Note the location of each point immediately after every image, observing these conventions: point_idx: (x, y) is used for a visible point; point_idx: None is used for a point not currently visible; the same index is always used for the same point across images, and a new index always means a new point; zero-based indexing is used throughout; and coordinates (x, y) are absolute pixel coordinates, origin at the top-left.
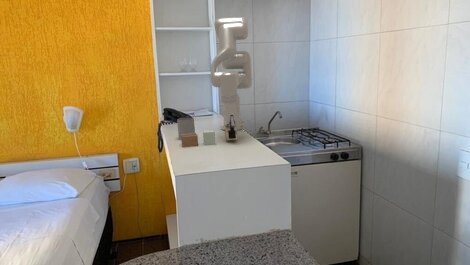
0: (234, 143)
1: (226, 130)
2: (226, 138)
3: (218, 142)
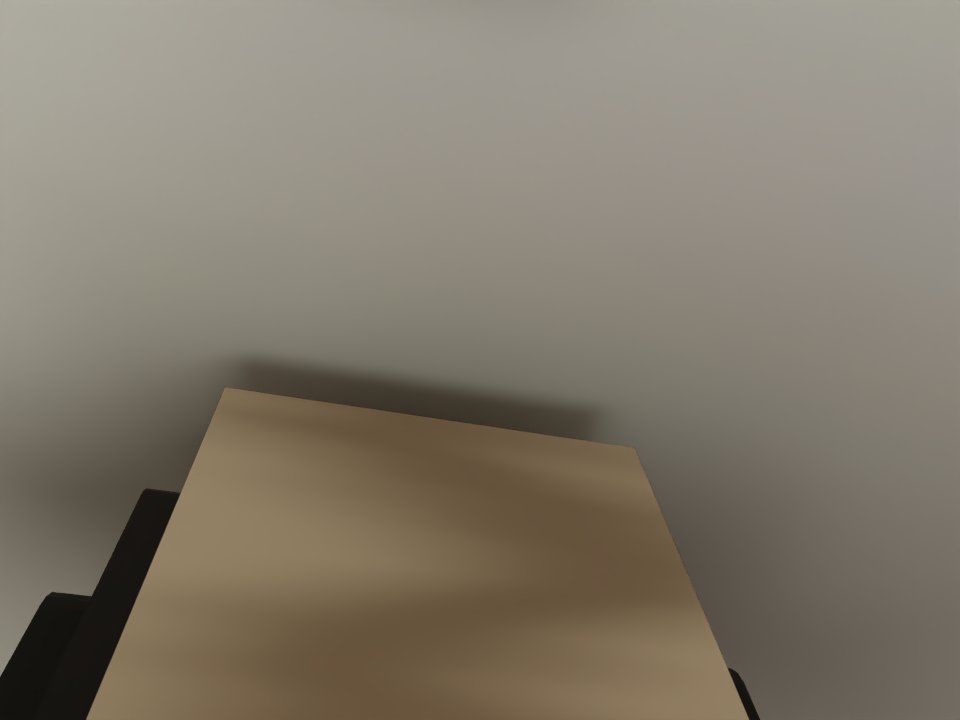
0: (25, 512)
1: (102, 688)
2: (346, 424)
3: (466, 72)
